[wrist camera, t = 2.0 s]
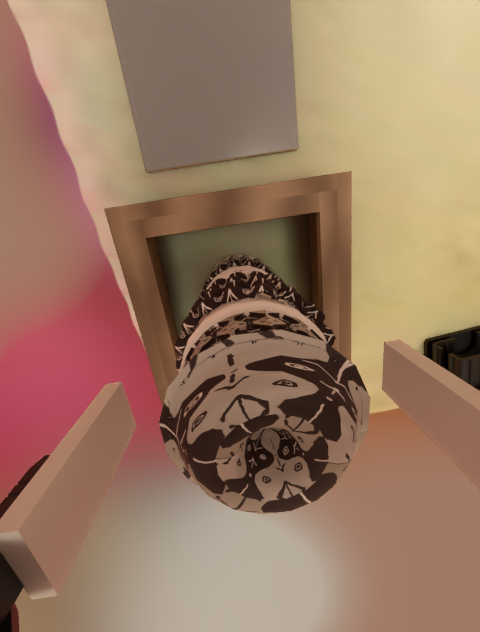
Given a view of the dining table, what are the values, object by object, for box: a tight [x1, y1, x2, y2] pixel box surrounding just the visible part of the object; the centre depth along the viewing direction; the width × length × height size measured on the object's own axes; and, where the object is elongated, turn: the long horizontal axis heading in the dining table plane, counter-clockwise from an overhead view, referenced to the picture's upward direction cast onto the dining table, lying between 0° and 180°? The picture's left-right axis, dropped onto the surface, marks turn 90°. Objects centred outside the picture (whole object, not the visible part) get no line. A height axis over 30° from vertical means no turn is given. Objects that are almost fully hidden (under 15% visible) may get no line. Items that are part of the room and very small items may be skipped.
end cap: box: [424, 326, 480, 390], centre depth 33 cm, size 10×7×7 cm
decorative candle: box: [159, 254, 370, 514], centre depth 20 cm, size 9×9×25 cm
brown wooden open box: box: [104, 171, 351, 406], centre depth 28 cm, size 20×20×8 cm
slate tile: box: [106, 0, 298, 173], centre depth 24 cm, size 16×16×1 cm
